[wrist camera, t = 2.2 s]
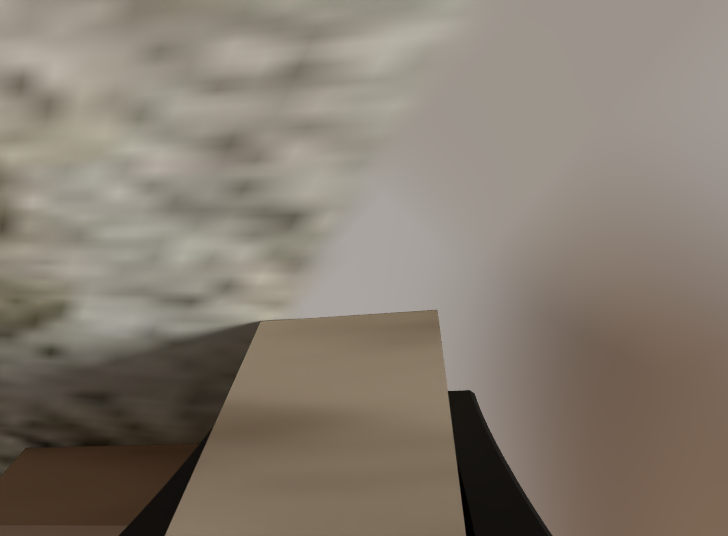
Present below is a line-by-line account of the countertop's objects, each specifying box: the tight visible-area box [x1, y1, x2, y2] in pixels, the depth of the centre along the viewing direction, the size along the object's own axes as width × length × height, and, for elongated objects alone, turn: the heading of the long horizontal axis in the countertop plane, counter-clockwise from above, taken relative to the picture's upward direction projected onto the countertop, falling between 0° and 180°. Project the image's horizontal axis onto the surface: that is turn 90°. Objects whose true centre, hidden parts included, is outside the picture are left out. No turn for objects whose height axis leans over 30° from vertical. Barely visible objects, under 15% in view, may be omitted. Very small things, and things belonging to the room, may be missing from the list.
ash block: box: [165, 310, 466, 536], centre depth 9 cm, size 4×4×6 cm
